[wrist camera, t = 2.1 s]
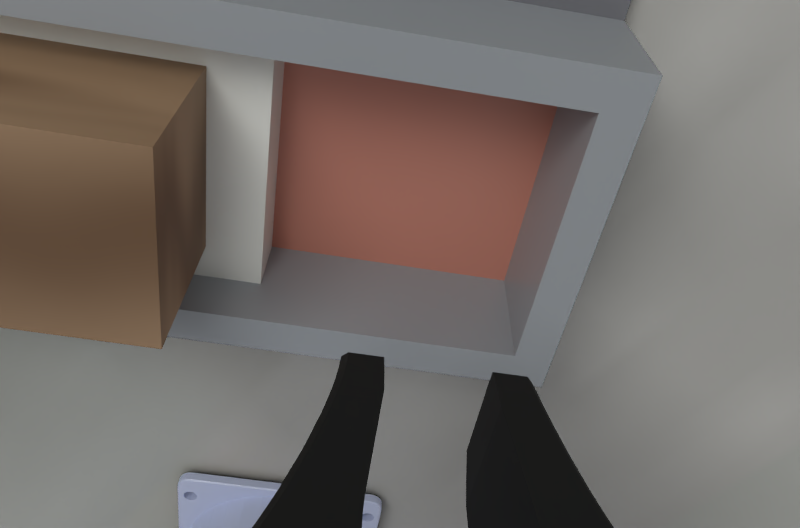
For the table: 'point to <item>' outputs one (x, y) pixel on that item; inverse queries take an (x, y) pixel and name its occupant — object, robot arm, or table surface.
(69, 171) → the walnut block
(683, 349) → the table surface
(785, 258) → the table surface
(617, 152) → the trap channel
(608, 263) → the table surface
